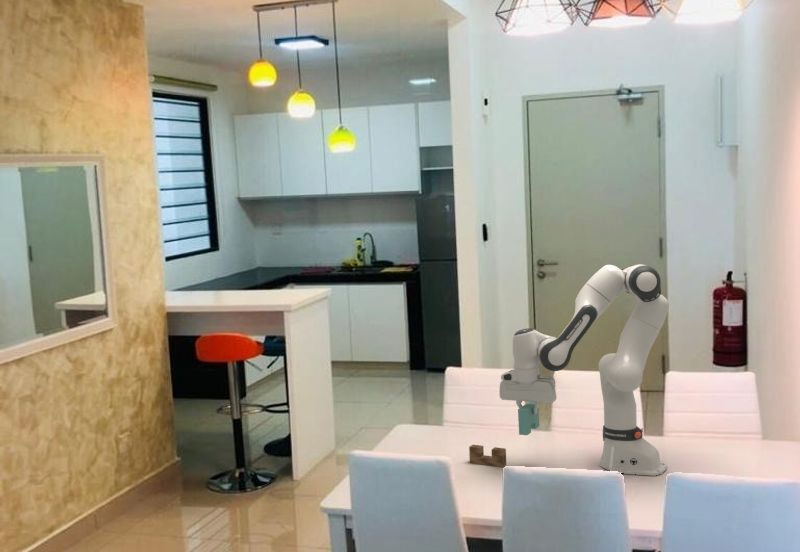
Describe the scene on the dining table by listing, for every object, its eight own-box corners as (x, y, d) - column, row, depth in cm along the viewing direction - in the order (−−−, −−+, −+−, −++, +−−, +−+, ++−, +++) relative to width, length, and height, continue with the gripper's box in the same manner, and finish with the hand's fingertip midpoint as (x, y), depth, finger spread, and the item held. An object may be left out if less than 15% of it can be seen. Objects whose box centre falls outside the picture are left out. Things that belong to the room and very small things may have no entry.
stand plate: (506, 464, 306) (505, 448, 306) (503, 467, 304) (502, 450, 303) (473, 460, 313) (472, 444, 312) (469, 462, 310) (469, 446, 310)
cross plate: (531, 425, 308) (530, 401, 307) (539, 426, 307) (538, 401, 306) (519, 434, 298) (517, 409, 297) (527, 435, 296) (526, 409, 296)
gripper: (557, 374, 298) (559, 413, 299) (503, 371, 308) (505, 409, 310) (551, 378, 293) (553, 417, 294) (496, 375, 303) (498, 413, 304)
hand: (528, 413), depth 302 cm, fingers closed on cross plate, 3 cm apart
